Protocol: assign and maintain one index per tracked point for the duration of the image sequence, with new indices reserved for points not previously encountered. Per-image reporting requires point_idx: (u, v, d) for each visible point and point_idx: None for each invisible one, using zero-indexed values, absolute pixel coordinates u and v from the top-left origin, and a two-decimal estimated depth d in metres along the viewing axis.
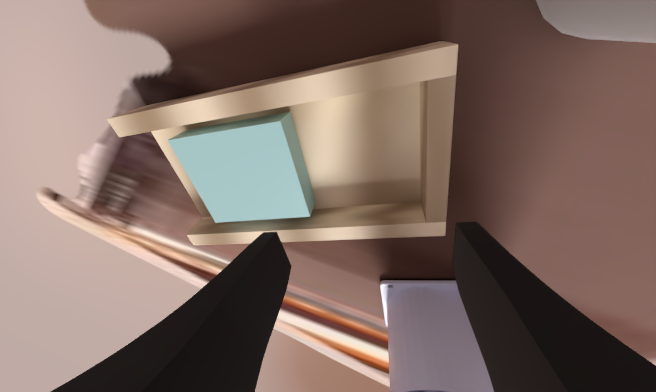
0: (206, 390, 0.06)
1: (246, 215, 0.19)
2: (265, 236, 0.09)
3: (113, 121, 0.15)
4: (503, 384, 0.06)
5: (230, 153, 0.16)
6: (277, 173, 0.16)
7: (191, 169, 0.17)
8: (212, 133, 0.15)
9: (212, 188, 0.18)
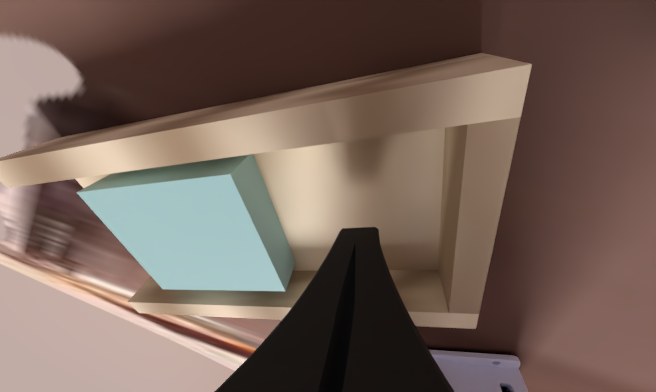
0: None
1: (200, 284, 0.14)
2: (349, 232, 0.08)
3: None
4: None
5: (165, 212, 0.11)
6: (234, 240, 0.11)
7: (118, 229, 0.12)
8: (135, 186, 0.10)
9: (151, 252, 0.13)
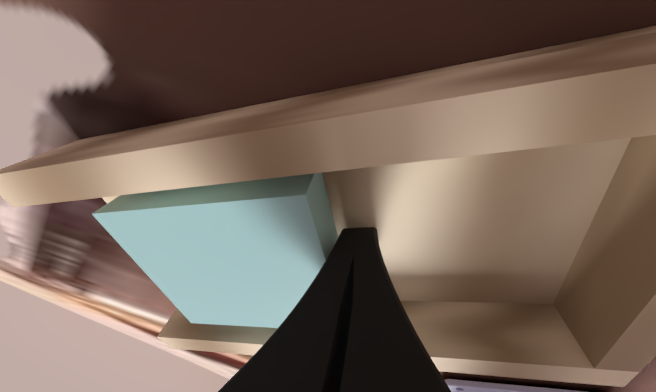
0: None
1: (239, 320, 0.11)
2: (350, 232, 0.08)
3: None
4: None
5: (206, 239, 0.08)
6: (293, 274, 0.09)
7: (142, 257, 0.10)
8: (170, 208, 0.08)
9: (181, 284, 0.10)
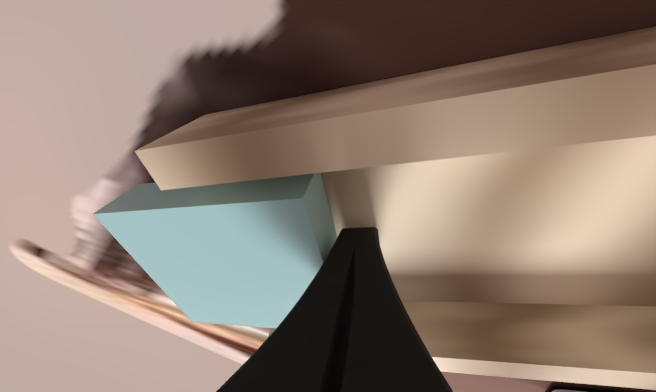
0: None
1: (239, 319, 0.11)
2: (349, 232, 0.08)
3: (151, 156, 0.06)
4: None
5: (205, 241, 0.08)
6: (291, 276, 0.09)
7: (143, 257, 0.10)
8: (169, 209, 0.08)
9: (181, 284, 0.10)
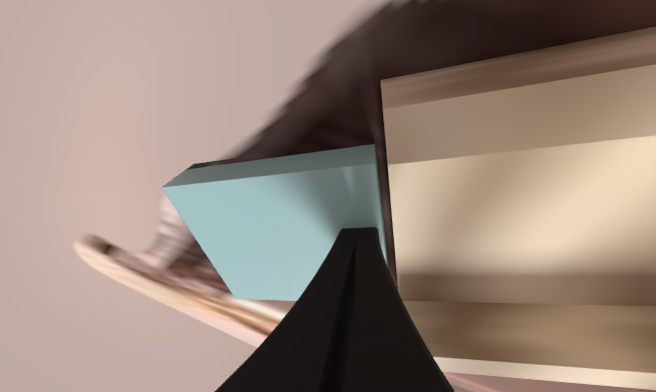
0: None
1: (285, 294, 0.12)
2: (349, 232, 0.08)
3: (404, 117, 0.05)
4: None
5: (269, 211, 0.09)
6: None
7: (202, 231, 0.10)
8: (240, 180, 0.08)
9: (234, 258, 0.11)
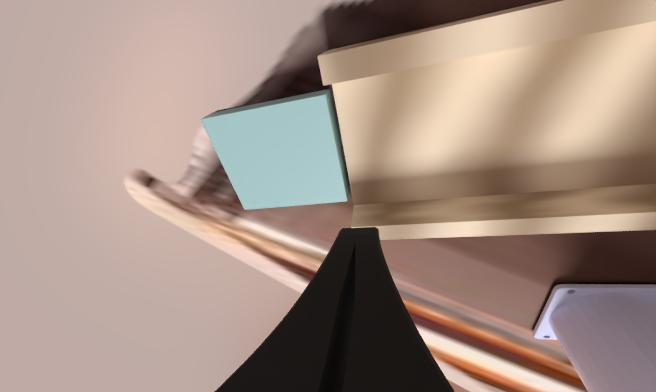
0: None
1: (278, 201, 0.18)
2: (349, 232, 0.08)
3: (327, 59, 0.11)
4: None
5: (266, 132, 0.15)
6: (316, 154, 0.15)
7: (223, 151, 0.16)
8: (249, 110, 0.14)
9: (244, 172, 0.17)
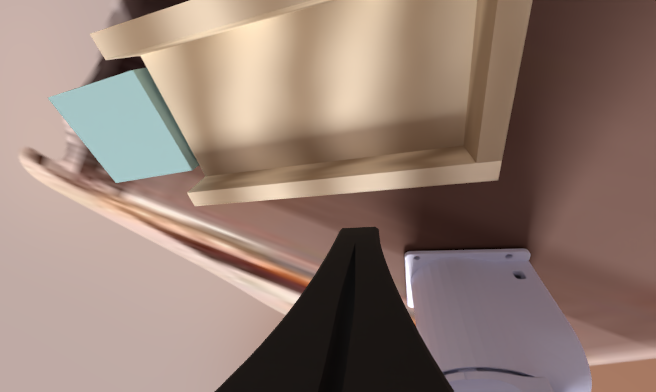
0: None
1: (138, 173, 0.20)
2: (349, 232, 0.08)
3: (97, 37, 0.13)
4: None
5: (102, 107, 0.17)
6: (148, 125, 0.17)
7: (77, 127, 0.18)
8: (81, 87, 0.16)
9: (101, 146, 0.19)
